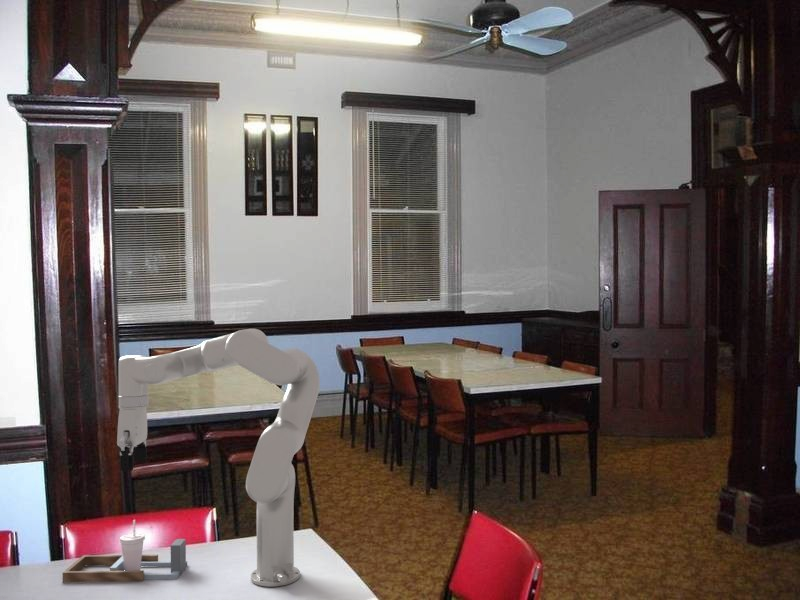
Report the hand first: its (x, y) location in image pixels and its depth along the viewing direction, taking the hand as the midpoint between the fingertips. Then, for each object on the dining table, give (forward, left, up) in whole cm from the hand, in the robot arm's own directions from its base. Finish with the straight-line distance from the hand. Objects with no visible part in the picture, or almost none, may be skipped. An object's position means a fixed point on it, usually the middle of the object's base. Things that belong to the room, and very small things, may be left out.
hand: (133, 465), depth 192 cm
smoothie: (0, 0, -29) cm, 29 cm away
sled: (-2, -3, -28) cm, 29 cm away
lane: (+3, +5, -29) cm, 29 cm away
